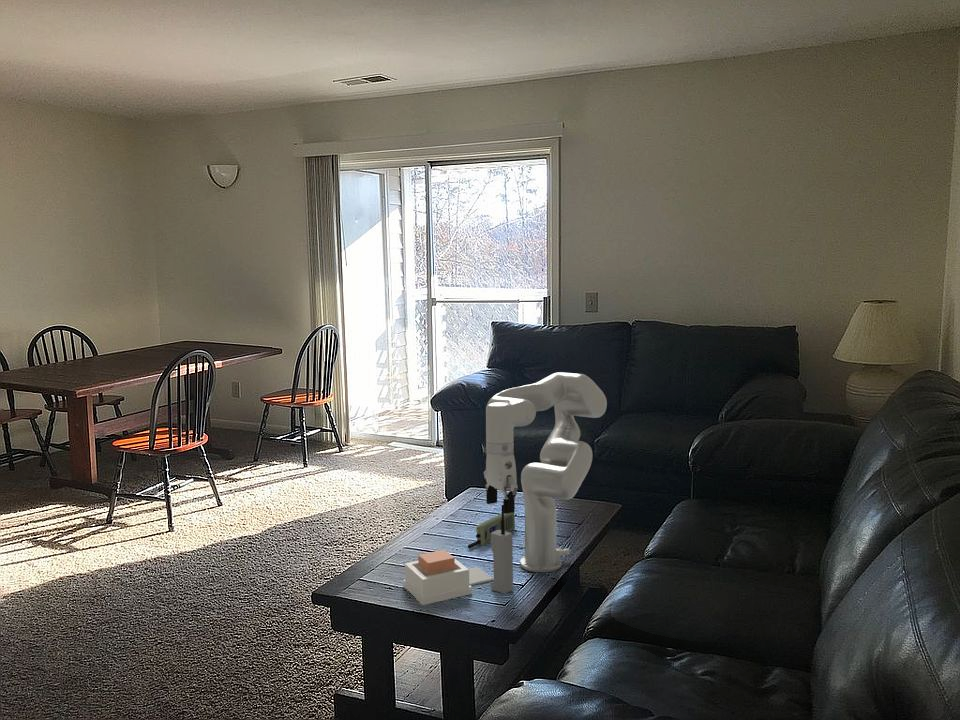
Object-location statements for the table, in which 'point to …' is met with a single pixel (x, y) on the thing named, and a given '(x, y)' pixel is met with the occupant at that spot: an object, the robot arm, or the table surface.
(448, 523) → the table surface
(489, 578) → the light gray square panel
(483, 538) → the handheld radio
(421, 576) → the frame
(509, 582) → the vintage mobile phone
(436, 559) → the button
